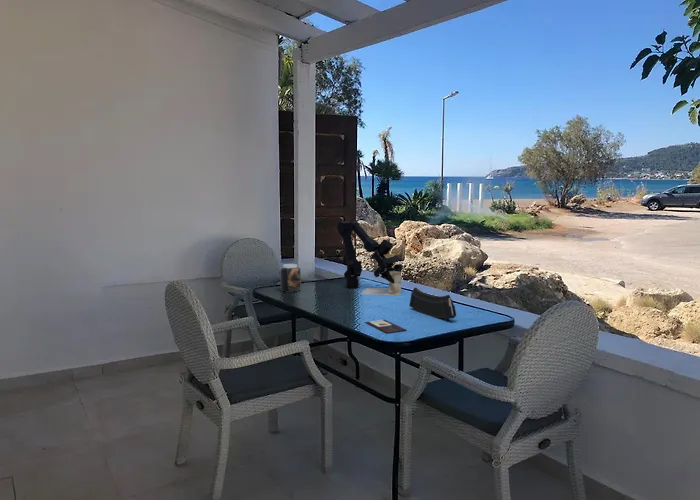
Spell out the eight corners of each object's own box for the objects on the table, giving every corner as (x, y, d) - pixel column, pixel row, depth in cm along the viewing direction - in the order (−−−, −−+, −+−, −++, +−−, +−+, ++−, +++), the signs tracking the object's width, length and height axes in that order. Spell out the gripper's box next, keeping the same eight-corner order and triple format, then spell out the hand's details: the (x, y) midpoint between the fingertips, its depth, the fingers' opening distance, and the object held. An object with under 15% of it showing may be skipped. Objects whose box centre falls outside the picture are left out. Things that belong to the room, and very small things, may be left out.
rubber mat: (361, 295, 266) (361, 294, 266) (366, 288, 285) (366, 287, 284) (398, 296, 262) (398, 295, 262) (401, 289, 281) (401, 288, 281)
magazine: (406, 289, 234) (444, 280, 207) (411, 288, 235) (450, 279, 209) (412, 325, 231) (451, 320, 205) (417, 324, 233) (457, 319, 206)
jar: (277, 292, 277) (276, 265, 275) (285, 288, 288) (285, 263, 287) (296, 293, 274) (295, 266, 272) (304, 289, 285) (303, 263, 283)
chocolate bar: (386, 332, 190) (365, 322, 207) (386, 335, 190) (365, 324, 207) (406, 329, 194) (384, 319, 210) (406, 332, 194) (384, 321, 210)
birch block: (389, 293, 265) (389, 272, 264) (394, 292, 269) (394, 271, 267) (395, 295, 262) (395, 272, 261) (400, 293, 265) (400, 271, 264)
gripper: (377, 252, 259) (393, 275, 253) (400, 249, 272) (416, 271, 265) (367, 265, 266) (382, 288, 259) (389, 262, 279) (405, 283, 272)
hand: (396, 282), depth 264 cm, fingers closed on birch block, 4 cm apart
